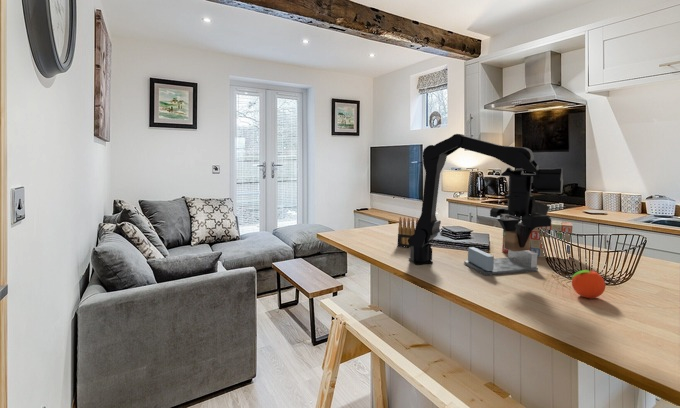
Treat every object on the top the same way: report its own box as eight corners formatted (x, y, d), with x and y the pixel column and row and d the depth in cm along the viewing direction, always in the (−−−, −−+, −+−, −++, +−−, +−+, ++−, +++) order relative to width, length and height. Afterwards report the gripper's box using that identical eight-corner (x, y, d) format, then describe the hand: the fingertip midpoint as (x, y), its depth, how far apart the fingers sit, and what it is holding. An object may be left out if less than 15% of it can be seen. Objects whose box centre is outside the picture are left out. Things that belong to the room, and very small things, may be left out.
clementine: (578, 303, 85) (580, 275, 84) (560, 292, 92) (562, 266, 91) (611, 302, 85) (613, 274, 84) (590, 291, 92) (593, 265, 91)
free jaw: (487, 271, 106) (487, 256, 105) (467, 260, 116) (468, 247, 116) (493, 270, 106) (493, 256, 105) (473, 260, 117) (473, 247, 116)
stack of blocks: (501, 252, 129) (503, 220, 128) (503, 248, 135) (505, 217, 133) (570, 260, 118) (572, 225, 117) (569, 256, 124) (572, 221, 122)
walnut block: (513, 251, 99) (514, 234, 98) (504, 247, 103) (505, 231, 102) (529, 250, 100) (530, 233, 99) (519, 246, 104) (520, 230, 103)
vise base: (485, 275, 105) (485, 258, 104) (464, 263, 117) (464, 247, 116) (537, 271, 108) (538, 253, 108) (512, 260, 120) (512, 244, 119)
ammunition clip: (397, 246, 142) (397, 217, 140) (399, 245, 143) (399, 216, 142) (422, 249, 136) (423, 219, 134) (424, 248, 138) (424, 218, 136)
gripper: (571, 194, 91) (567, 252, 93) (522, 188, 109) (519, 236, 112) (533, 196, 89) (530, 255, 91) (489, 189, 108) (488, 238, 110)
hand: (516, 245), depth 101 cm, fingers closed on walnut block, 4 cm apart
